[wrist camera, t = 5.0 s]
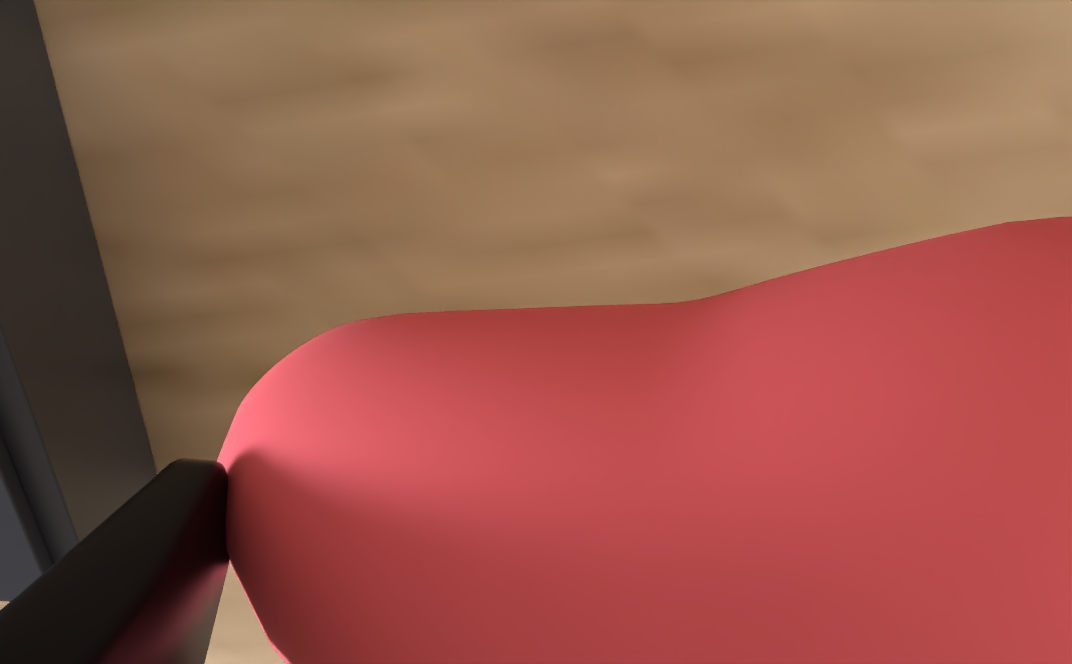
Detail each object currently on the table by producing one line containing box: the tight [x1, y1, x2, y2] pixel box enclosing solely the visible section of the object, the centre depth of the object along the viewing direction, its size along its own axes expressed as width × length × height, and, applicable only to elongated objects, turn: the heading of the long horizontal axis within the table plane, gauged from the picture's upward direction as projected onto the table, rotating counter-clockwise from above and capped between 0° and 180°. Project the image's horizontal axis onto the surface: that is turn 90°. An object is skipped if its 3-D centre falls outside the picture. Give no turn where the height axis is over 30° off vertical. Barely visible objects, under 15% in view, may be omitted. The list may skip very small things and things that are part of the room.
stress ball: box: [217, 217, 1072, 664], centre depth 9 cm, size 5×9×6 cm, turn 92°
